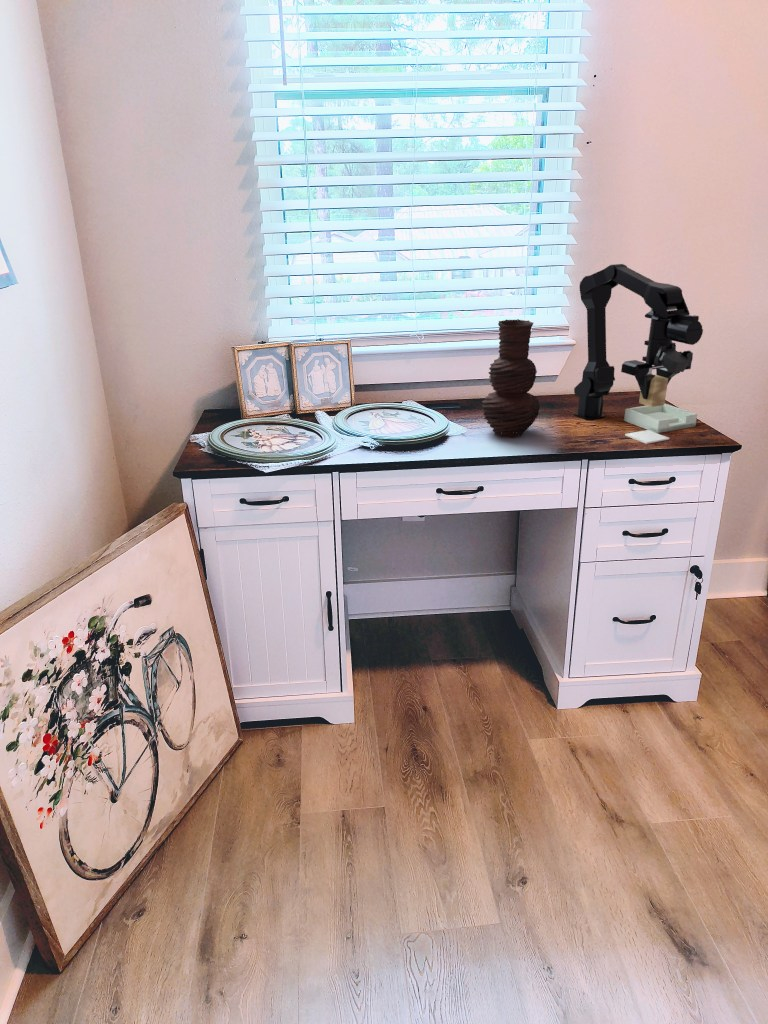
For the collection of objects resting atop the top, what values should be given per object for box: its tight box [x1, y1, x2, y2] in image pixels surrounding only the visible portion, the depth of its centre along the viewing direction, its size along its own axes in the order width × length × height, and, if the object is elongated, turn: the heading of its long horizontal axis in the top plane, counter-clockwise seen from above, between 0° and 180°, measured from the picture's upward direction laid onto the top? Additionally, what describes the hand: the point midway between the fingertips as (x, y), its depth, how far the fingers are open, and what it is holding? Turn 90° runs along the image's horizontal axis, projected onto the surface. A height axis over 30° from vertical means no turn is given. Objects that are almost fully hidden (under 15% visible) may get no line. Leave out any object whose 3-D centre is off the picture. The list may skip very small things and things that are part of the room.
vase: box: [481, 319, 541, 439], centre depth 201 cm, size 15×15×30 cm
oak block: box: [638, 374, 669, 407], centre depth 197 cm, size 4×4×7 cm
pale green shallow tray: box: [623, 403, 698, 434], centre depth 213 cm, size 14×13×4 cm
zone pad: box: [624, 429, 670, 445], centre depth 202 cm, size 8×8×1 cm
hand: (652, 397), depth 198 cm, fingers closed on oak block, 4 cm apart
